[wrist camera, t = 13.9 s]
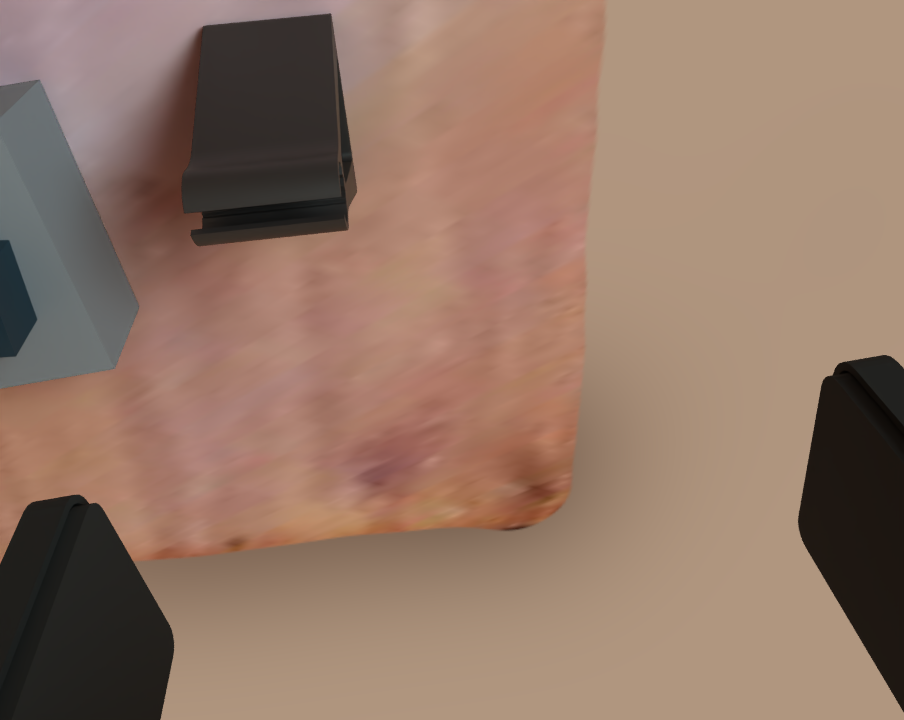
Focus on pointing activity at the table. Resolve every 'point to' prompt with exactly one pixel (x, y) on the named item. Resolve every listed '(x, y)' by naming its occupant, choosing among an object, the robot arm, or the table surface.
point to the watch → (13, 304)
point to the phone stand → (269, 133)
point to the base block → (57, 248)
